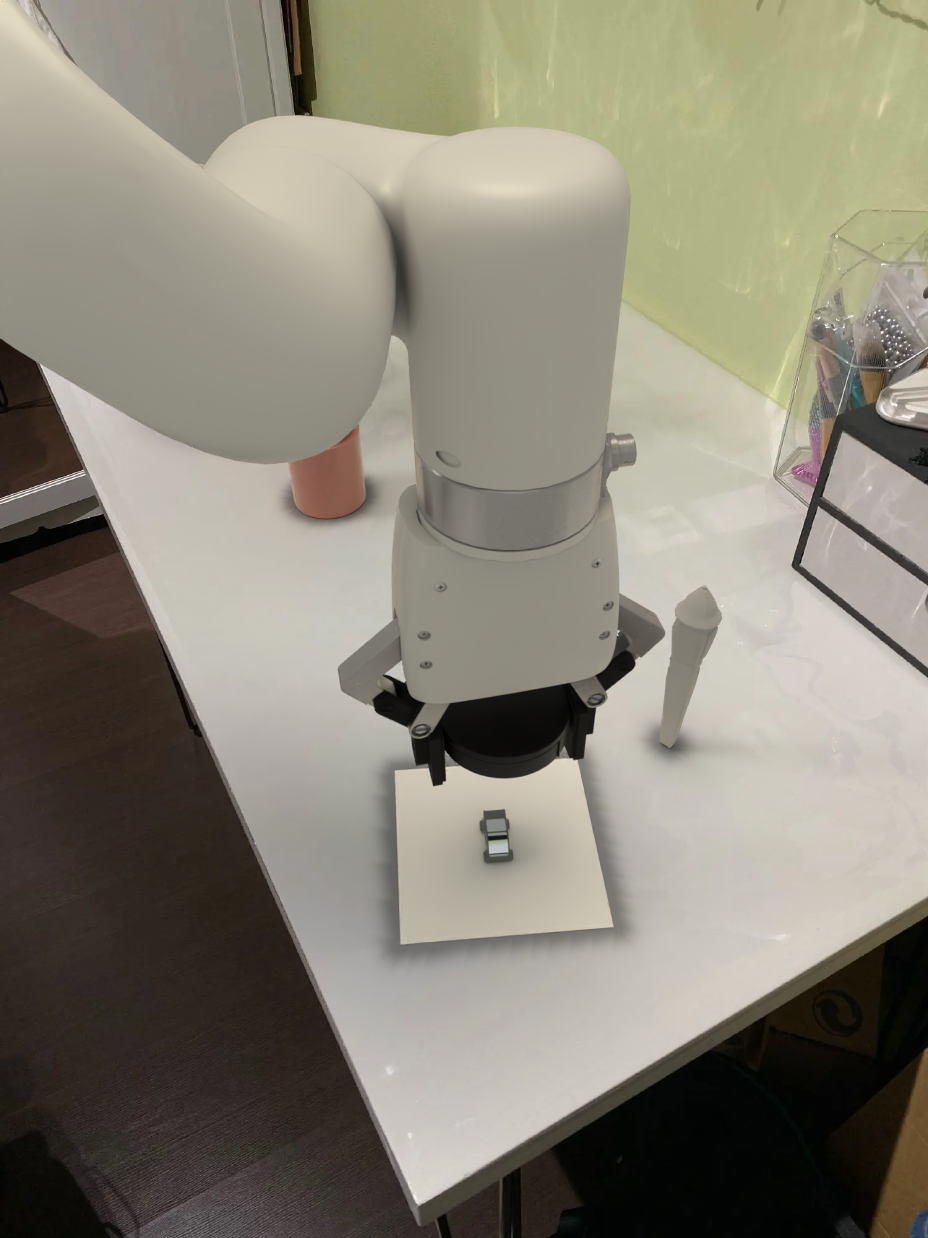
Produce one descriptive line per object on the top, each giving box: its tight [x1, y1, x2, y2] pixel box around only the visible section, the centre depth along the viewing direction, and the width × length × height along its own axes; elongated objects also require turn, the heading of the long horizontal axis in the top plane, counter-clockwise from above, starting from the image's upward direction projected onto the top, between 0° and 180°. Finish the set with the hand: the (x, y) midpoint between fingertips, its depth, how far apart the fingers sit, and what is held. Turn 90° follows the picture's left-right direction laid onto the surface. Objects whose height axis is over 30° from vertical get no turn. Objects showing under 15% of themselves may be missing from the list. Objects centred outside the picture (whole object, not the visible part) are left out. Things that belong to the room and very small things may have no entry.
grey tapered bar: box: [659, 585, 723, 749], centre depth 56 cm, size 2×3×14 cm
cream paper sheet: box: [394, 757, 615, 945], centre depth 55 cm, size 12×12×2 cm
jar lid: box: [440, 684, 570, 779], centre depth 47 cm, size 7×7×2 cm
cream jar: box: [287, 423, 367, 520], centre depth 78 cm, size 6×6×8 cm
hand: (502, 750), depth 49 cm, fingers closed on jar lid, 6 cm apart
